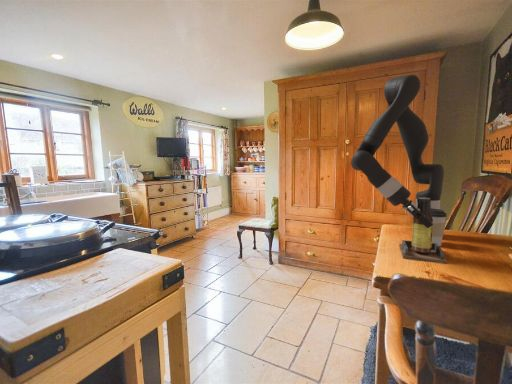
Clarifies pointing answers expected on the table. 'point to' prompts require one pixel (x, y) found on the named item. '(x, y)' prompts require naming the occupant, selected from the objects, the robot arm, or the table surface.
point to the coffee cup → (438, 225)
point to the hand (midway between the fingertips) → (428, 223)
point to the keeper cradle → (432, 256)
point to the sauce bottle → (422, 228)
